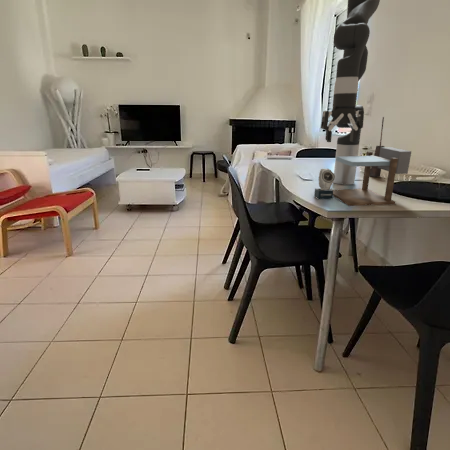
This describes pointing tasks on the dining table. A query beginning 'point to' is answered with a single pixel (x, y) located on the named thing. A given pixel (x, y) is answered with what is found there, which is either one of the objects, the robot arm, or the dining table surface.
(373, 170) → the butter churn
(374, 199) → the trapdoor frame
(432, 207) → the dining table surface
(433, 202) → the dining table surface
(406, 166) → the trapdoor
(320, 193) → the watch
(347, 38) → the robot arm
